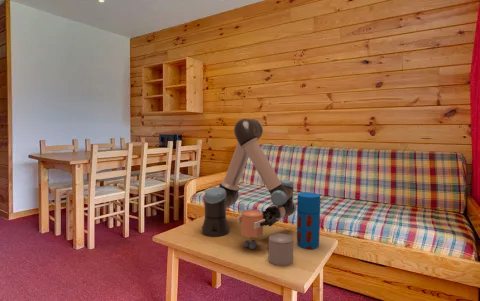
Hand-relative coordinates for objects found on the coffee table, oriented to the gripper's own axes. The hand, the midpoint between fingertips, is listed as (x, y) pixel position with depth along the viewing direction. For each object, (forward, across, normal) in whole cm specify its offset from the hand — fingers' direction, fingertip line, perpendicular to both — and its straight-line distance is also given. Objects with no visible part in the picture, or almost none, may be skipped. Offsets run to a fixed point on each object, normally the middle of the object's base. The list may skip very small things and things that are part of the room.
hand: (245, 222), depth 136 cm
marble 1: (-3, +2, -13) cm, 14 cm away
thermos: (-26, -18, -13) cm, 34 cm away
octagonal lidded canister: (-4, 0, -6) cm, 7 cm away
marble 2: (-6, 0, -13) cm, 15 cm away
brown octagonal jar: (-3, -18, -13) cm, 22 cm away
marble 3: (-3, -2, -13) cm, 14 cm away
